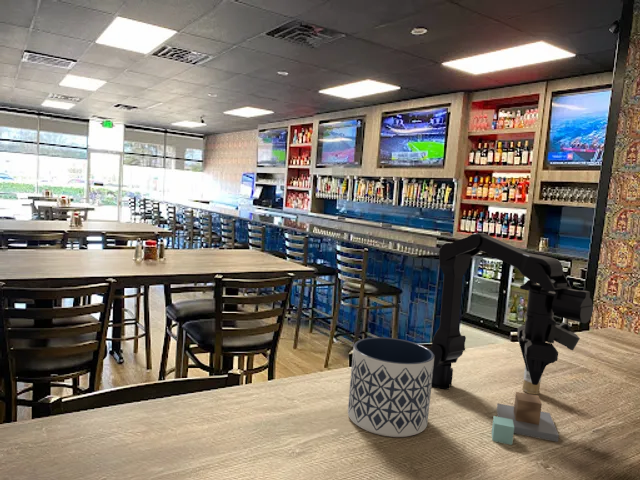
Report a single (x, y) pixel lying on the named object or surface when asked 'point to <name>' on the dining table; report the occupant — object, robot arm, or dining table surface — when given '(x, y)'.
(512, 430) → the teal block
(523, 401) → the walnut block
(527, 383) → the sprinkles bottle
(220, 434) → the dining table surface
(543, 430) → the slate board
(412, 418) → the planter
